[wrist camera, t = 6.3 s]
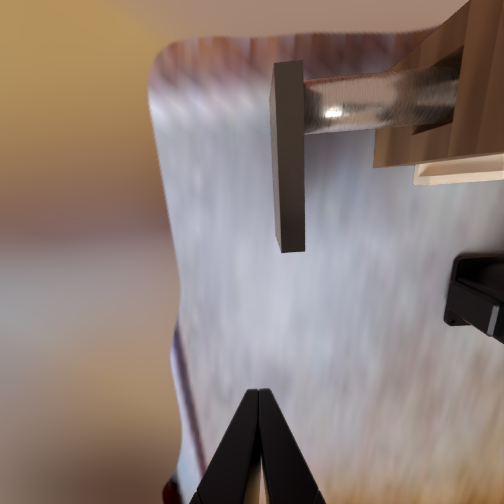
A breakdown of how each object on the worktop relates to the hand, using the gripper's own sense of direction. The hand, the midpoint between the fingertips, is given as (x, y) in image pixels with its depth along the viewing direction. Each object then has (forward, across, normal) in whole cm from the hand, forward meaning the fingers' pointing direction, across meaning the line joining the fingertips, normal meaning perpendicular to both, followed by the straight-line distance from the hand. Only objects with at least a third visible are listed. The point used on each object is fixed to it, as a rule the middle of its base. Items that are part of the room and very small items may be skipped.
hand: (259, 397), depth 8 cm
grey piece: (+9, -6, -8) cm, 14 cm away
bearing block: (+13, -11, -11) cm, 20 cm away
